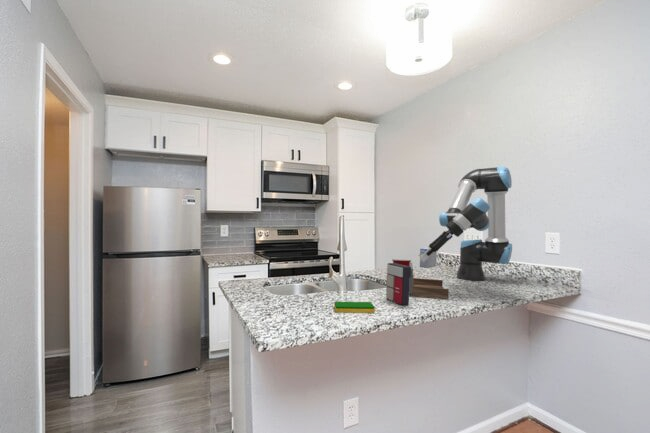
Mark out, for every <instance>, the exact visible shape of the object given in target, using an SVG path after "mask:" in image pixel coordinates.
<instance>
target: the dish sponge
mask: <svg viewBox="0 0 650 433" xmlns="http://www.w3.org/2000/svg"><path fill="white" fill-rule="evenodd" d="M333 305H334V306H333V307H334V311H335V313H345V314H346V313H348V314H349V313H353V314H354V313H360V314H362V313H363V314H364V313H367V314H373V313H374V314H375V308H376V307H375V306H374V305H373V303H372V302H371V301H334V304H333Z"/></svg>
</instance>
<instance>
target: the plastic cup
mask: <svg viewBox="0 0 650 433" xmlns="http://www.w3.org/2000/svg"><path fill="white" fill-rule="evenodd" d="M391 260H392V263H397V264H401V265H405V266H409V262H411V261H412V259H406V258H391ZM411 263H412V262H411Z"/></svg>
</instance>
